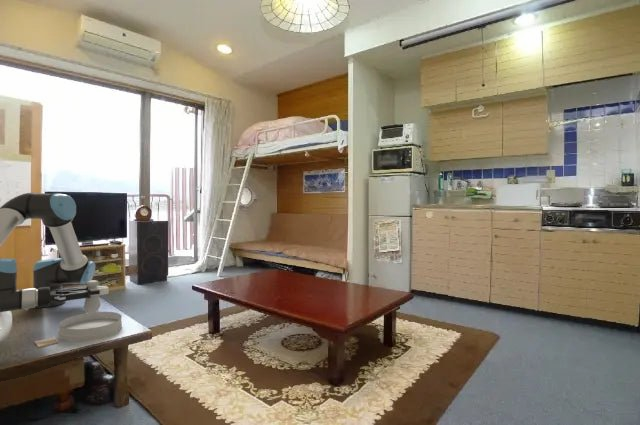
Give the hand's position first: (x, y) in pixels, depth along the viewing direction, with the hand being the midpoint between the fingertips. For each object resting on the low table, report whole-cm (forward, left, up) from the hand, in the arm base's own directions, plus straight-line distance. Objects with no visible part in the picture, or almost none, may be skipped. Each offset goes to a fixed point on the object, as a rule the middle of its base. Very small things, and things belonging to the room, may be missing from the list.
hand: (107, 289), depth 146 cm
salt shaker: (0, -6, -9) cm, 10 cm away
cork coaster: (+5, -20, -17) cm, 27 cm away
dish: (0, -5, -17) cm, 18 cm away
